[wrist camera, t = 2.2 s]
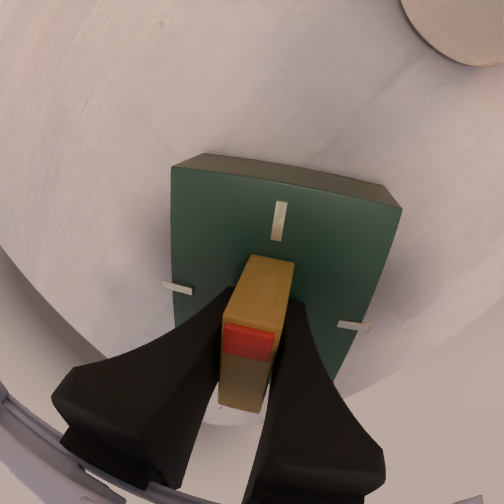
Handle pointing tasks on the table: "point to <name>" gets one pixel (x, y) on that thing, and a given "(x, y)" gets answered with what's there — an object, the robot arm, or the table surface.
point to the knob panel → (281, 239)
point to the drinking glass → (461, 28)
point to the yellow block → (253, 332)
